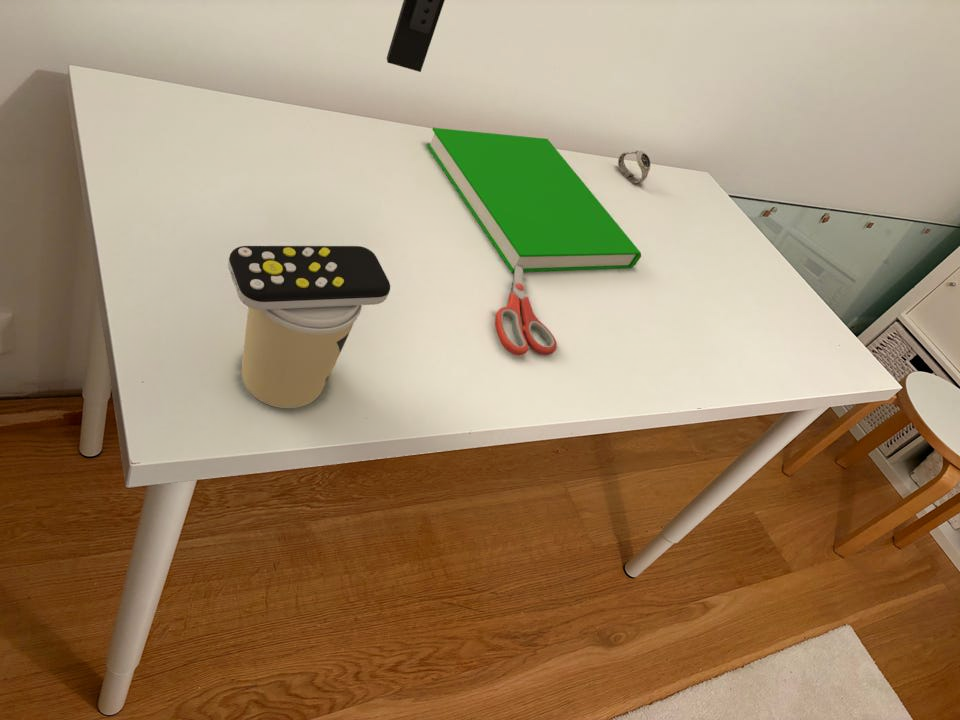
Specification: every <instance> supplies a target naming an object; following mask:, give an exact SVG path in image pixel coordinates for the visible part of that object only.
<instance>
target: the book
mask: <svg viewBox="0 0 960 720" xmlns="http://www.w3.org/2000/svg"><path fill="white" fill-rule="evenodd" d="M432 131H433V135H432V138H431V141H430V143H429V142H428V143H426V147H427V148H428V150H429V152H430V153H431V154H432V155H433V157H434V158H435V160H436V161H437V163H438V164H439V166H440V168H441V169H442V171H443V172H444V174H445V175H446V177H447V178H448V180H449V181H450V183H451V185H453V187H454V188H455V190H456V192H457V193H458V195H459V196H460V197H461V199H462V200H463V202H464V203H465V205H466V207H467V208H468V209H469V211H470V212H471V214H472V216H473V217H474V219H475V220H476V222H477V223H478V224H479V226H480V227H481V229H482V230H483V232H484V233H485V235H486V236H487V238H488V240H489V241H490V243H491V244H492V245H493V247H494V249H495V250H496V251H497V253H498V254H499V256H500V257H501V260H503V262H504V263H505V265H506V266H507V268H508V269H509V271H510V272H511V273H514V271H515V265H522V266H523V273H536V272H563V271H565V272H567V271H591V270H593V271H595V270H620V269H622V270H624V269H632V268H633V267H635V266H636V265H637V263H638V262H639V260H640V259H641V257H642V252H641V251H640V250H639V249H638V247H637V246H636V245H635V243H634V242H633V241H632V240H631V238H630V237H629V236H628V235H627V234H626V233H625V231H624V230H623V229H622V228H621V226H620V225H619V224H618V223H617V221H615V219H614V218H613V217H612V215H611V214H610V213H609V212H608V210H607V209H606V208H605V207H604V205H603V204H602V203H601V202H600V201H599V200H598V198H597V197H596V196H595V194H593V192H592V191H591V190H590V189H589V187H588V186H587V185H586V183H585V182H584V181H583V180H582V179H581V178H580V176H579V175H578V174H577V173H576V172H575V170H574V169H573V168H572V166H570V164H569V163H568V162H567V160H565V158H564V157H563V156H562V155H561V153H560V152H559V150H557V149H556V147H555V146H554V145H553V144H552V142H551V141H550V140H549V138H543V137H541V138H540V137H532V136H521V135H513V134H502V133H491V132H480V131H471V130H470V131H469V130H461V129H451V128H438V127H432Z"/></svg>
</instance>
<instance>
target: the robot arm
mask: <svg viewBox="0 0 960 720" xmlns="http://www.w3.org/2000/svg"><path fill="white" fill-rule="evenodd" d="M402 1H403V2H402V3H401V4H402V5H401V8H400V11H399V14H398V18H397V21H396V26H395V29H394V31H393V35H392V39H391V42H390V45H389V48H388V51H387V55H386V63H387V64H391V65H394V66H398V67H401V68H405V69H408V70H412V71H415V72H417V73H418V72H419V73H422V69H423V67H424V63H425V61H426V57H427V55H428V52H429V48H430V45H431V43H432V40H433V36H434V33H435V30H436V27H437V24H438V21H439V18H440V15H441V12H442V10H443V7H444V4H445V1H446V0H402Z"/></svg>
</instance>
